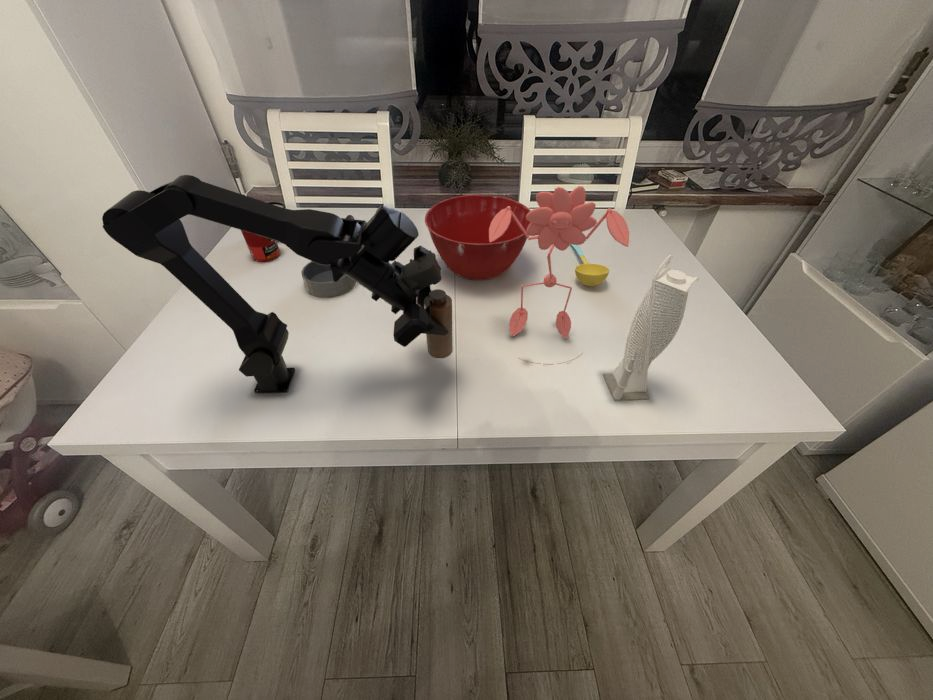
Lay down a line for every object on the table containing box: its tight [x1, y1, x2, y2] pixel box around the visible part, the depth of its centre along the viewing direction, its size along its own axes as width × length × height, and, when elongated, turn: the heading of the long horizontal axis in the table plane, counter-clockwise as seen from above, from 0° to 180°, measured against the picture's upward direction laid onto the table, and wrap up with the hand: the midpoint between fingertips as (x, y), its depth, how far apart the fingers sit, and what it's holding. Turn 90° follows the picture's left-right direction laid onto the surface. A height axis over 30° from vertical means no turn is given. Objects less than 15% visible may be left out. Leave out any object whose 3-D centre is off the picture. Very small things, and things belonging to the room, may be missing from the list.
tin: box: [301, 261, 357, 299], centre depth 103 cm, size 13×13×4 cm
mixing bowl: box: [424, 194, 531, 281], centre depth 106 cm, size 28×28×16 cm
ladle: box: [570, 244, 611, 287], centre depth 112 cm, size 9×26×6 cm, turn 1°
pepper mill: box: [424, 288, 454, 360], centre depth 72 cm, size 5×5×14 cm
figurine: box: [489, 185, 630, 366], centre depth 77 cm, size 15×26×35 cm, turn 83°
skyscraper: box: [602, 253, 700, 402], centre depth 70 cm, size 8×8×28 cm
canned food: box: [240, 230, 281, 263], centre depth 111 cm, size 8×8×11 cm
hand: (446, 324), depth 73 cm, fingers closed on pepper mill, 5 cm apart
